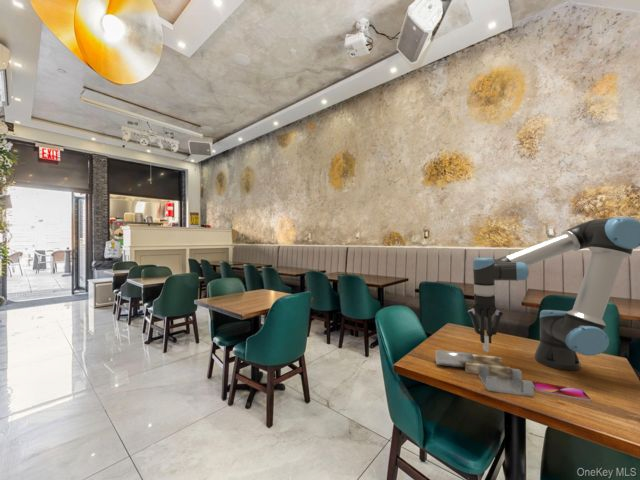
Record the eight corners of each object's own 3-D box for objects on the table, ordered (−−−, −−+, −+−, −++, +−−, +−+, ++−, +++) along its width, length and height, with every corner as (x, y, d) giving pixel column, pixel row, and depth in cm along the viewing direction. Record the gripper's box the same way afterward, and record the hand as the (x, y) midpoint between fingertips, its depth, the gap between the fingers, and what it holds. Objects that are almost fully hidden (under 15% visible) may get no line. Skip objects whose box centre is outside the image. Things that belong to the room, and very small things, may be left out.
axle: (469, 362, 119) (470, 350, 118) (473, 371, 114) (474, 358, 113) (435, 359, 123) (435, 347, 122) (437, 367, 117) (437, 354, 116)
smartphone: (531, 380, 105) (582, 389, 99) (531, 383, 105) (582, 392, 99) (536, 390, 98) (592, 400, 92) (536, 393, 98) (592, 403, 92)
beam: (500, 366, 119) (500, 357, 119) (511, 379, 108) (511, 369, 108) (459, 361, 123) (459, 352, 123) (466, 373, 112) (466, 364, 112)
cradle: (519, 380, 106) (519, 369, 106) (533, 396, 95) (533, 383, 95) (478, 376, 109) (478, 364, 109) (487, 390, 99) (488, 378, 99)
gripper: (498, 293, 117) (500, 348, 117) (464, 292, 121) (466, 346, 121) (505, 296, 110) (507, 355, 110) (469, 295, 113) (471, 353, 113)
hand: (486, 350), depth 115 cm, fingers closed
